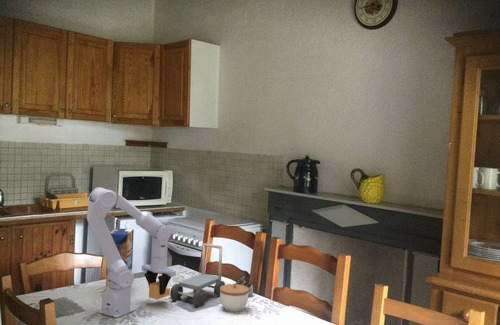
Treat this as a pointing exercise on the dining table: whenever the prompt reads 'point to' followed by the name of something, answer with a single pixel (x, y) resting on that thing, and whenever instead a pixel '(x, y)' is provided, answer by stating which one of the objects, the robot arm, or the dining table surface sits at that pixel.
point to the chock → (157, 291)
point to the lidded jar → (234, 297)
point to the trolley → (200, 281)
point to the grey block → (243, 282)
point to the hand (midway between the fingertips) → (157, 292)
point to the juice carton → (122, 248)
